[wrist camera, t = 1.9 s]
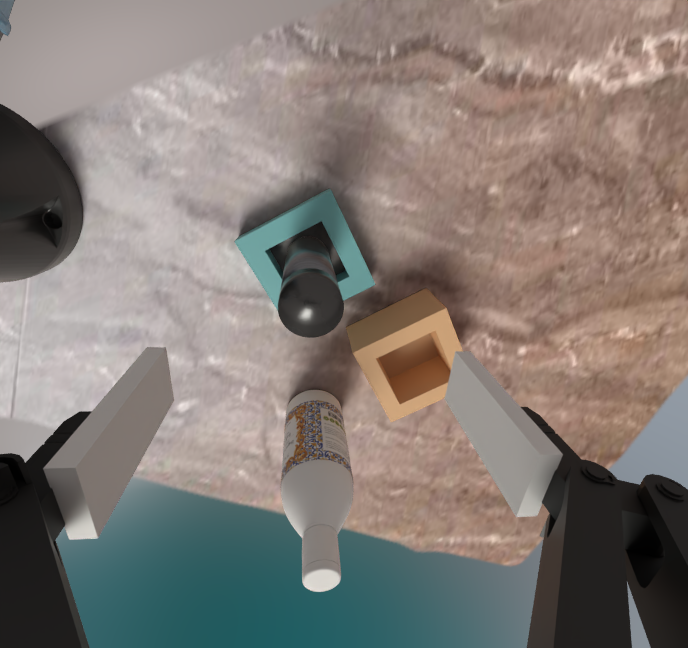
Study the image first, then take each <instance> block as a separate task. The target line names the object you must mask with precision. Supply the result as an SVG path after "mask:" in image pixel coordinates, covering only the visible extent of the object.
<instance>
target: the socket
mask: <svg viewBox="0 0 688 648" xmlns="http://www.w3.org/2000/svg"><path fill="white" fill-rule="evenodd" d="M346 330H347V334H348V338H349V341H350V345H351V349H352V352H353V355H354V356H355V358H356V360H357V362H358V364H359V365H360V367H361V369H362V371H363V373H364V374H365V376H366V378H367V380H368V382H369V383H370V385H371V387H372V389H373V391H374V392H375V394H376V396H377V398H378V400H379V401H380V403H381V405H382V407H383V409H384V410H385V412H386V414H387V416H388V418H389V419H390V421H391V422H393V421H395V420H397V419H400V418H402V417H404V416H406V415H408V414H411V413H413V412H415V411H417V410H419V409H422V408H424V407H426V406H428V405H430V404H433V403H435V402H437V401H439V400H441V399H444V398H445V394H446V390H447V386H448V381H449V377H450V372H451V368H452V364H453V359H454V355H455V351H463V350H462V348H461V345H460V342H459V340H458V337H457V335H456V332H455V329H454V327H453V324H452V321H451V319H450V316H449V314H448V311H447V308H446V307H445V306H444V305H443V304H442V303H441V302H440V301H439V300H438V299H437V298H436V297H435V296H434V295H433V294H432V293H431V292H430V291H429V290H428V289H427V288H425V289H423V290H421V291H419V292H417V293H415V294H413V295H411V296H409V297H407V298H405V299H403V300H401V301H399V302H396V303H394V304H392V305H390V306H388V307H386V308H384V309H382V310H380V311H378V312H376V313H374V314H372V315H370V316H368V317H366V318H364V319H362V320H360V321H358V322H356V323H354V324H352V325H349V326H347V327H346Z"/></svg>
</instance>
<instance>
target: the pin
mask: <svg viewBox="0 0 688 648" xmlns="http://www.w3.org/2000/svg"><path fill="white" fill-rule="evenodd" d="M343 310H344V303H343V299H342V295H341V292H340V289H339V285H338V282H337V279H336V275H335V272H334V269H333V265H332V262H331V259H330V255H329V252H328V249H327V247H326V246H325V244H324V243H323V242H322V241H320V240H319V239H317V238H315V237H310V236H305V237H300V238H298V239H296V240H295V241H294V242H292V244H291V245H290V246H289V248H288V251H287V255H286V261H285V266H284V272H283V278H282V284H281V289H280V295H279V301H278V313H279V317H280V319H281V321H282V323H283V324H284V325H285V327H286V328H287V329H289V330H290V331H291V332H293V333H294V334H297V335H299V336H302V337H319V336H322V335H325V334H327V333H329V332H330V331H332V330H333V329H334V328H335V327H336V326H337V325H338V323H339V322H340V320H341V318H342V315H343Z"/></svg>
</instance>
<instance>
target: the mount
mask: <svg viewBox="0 0 688 648" xmlns="http://www.w3.org/2000/svg"><path fill="white" fill-rule="evenodd" d="M321 221H322V223H323V225H324V227H325V229H326V231H327V233H328V235H329V237H330V239H331V241H332V243H333V245H334V247H335V249H336V251H337V253H338V255H339V257H340V259H341V261H342V263H343V265H344V267H345V269H346V270H345V271H343V272H341V273H339V274H337V275H336V279H337V282H338V285H339V289H340V292H341V295H342V299H343V301H344V300H346V299H348V298H350V297H352V296H354V295H356V294H358V293H360V292H362V291H364V290H366V289H368V288H370V287H372V286H374V285H376V284H375V282H374V280H373V278H372V276H371V274H370V272H369V270H368V267H367V265H366V263H365V261H364V259H363V257H362V255H361V253H360V250H359V248H358V246H357V244H356V242H355V240H354V238H353V236H352V233H351V231H350V229H349V227H348V225H347V223H346V221H345V219H344V216H343V214H342V212H341V210H340V208H339V206H338V204H337V201H336V199H335V197H334V195H333V193H332V191H331V190H330V189H327V190H325V191H323V192H322V193H320V194H318V195H316V196H314V197H312V198H310V199H308V200H307V201H305V202H303V203H301V204H299V205H297V206H295V207H293V208H292V209H290V210H288V211H286V212H284V213H282V214H280V215H278V216H276V217H275V218H273V219H271V220H269V221H267V222H265V223H263V224H261V225H260V226H258V227H256V228H254V229H252V230H250V231H248V232H246V233H245V234H243V235H241V236H239V237H238V238H237V239H236V240H235V241H234V242H235V243H236V245H237V246H238V248H239V250H240V251H241V253H242V254H243V256H244V258H245V259H246V261H247V262H248V264H249V265H250V267H251V269H252V270H253V272H254V273H255V275H256V277H257V278H258V280H259V281H260V283H261V285H262V286H263V288H264V289H265V291H266V292H267V294H268V296H269V297H270V299H271V300H272V302H273V304H274V305H275V307H276V308H277V310H278V301H279V295H280V289H281V284H282V278H283V271H282V269H281V268H280V266H279V264H278V263H277V261H276V259H275V258H274V256H273V254H272V252H271V251H270V249H269V248H271V247H273V246H275V245H277V244H279V243H281V242H283V241H285V240H287V239H288V238H290V237H292V236H294V235H296V234H298V233H300V232H302V231H304V230H306V229H308V228H309V227H311V226H313V225H315V224H317V223H319V222H321Z"/></svg>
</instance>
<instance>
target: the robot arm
mask: <svg viewBox="0 0 688 648" xmlns="http://www.w3.org/2000/svg"><path fill="white" fill-rule="evenodd" d="M14 1H15V0H0V40H1V38H2V35H3V34H5V35H7V36H8V35H9V33H10V30H11V25H10V23H9V20H8V19H9V16H10V13H11V10H12V7H13V4H14ZM81 226H82V205H81V199H80V195H79V191H78V188H77V185H76V183H75V180H74V178H73V176H72V174H71V172H70V170H69V168H68V166H67V164H66V163H65V161H64V160H63V158H62V157H61V155H60V154H59V153H58V151H57V150H56V149H55V147H54V146H53V145H52V144H51V143H50V142H49V140H48V139H47V138H46V137H45V136H44V135H43V134H42V133H41V132H40V131H39V130H38V129H36V128H35V127H34V126H33V125H32V124H31V123H29V122H28V121H27V120H25V119H24V118H22V117H21V116H20V115H18V114H17V113H15V112H14V111H12V110H11V109H9V108H7V107H5V106H3V105H1V104H0V282H11V281H17V280H22V279H26V278H29V277H32V276H35V275H37V274H40V273H42V272H44V271H47V270H49V269H51V268H53V267H55V266H57V265H58V264H59V263H61V262H62V261H63V260H64V259H65V258H66V257H67V256H68V255H69V254H70V253H71V251H72V250H73V249H74V247H75V245H76V243H77V241H78V238H79V235H80V232H81ZM173 401H174V397H173V391H172V384H171V377H170V371H169V364H168V358H167V351H166V348H156V347H147V348H146V349H145V350H144V352H143V353H142V354H141V355H140V356H139V357H138V359H137V360H136V361H135V362H134V363H133V364H132V366H131V367H130V368H129V369H128V370H127V371H126V373H125V374H124V375H123V376H122V377H121V378H120V380H119V381H118V382H117V383H116V384H115V385H114V387H113V388H112V389H111V390H110V391H109V392H108V394H107V395H106V396H105V397H104V398H103V399H102V401H101V402H100V403H99V404H98V405H97V406H96V408H95V409H94V410H93V411H92V412H78V413H77V414H75V415H74V416H72V417H70V418H69V419H67V420H66V421H64V422H63V423H62V424H61V425H60V426H59V427H58V429H57V430H56V431H55V432H54V433H53V435H51V436H50V437H49V438H48V439H47V440H46V441H45V444H44V445H42V446H41V447H40V448H39V449H38V450H37V451H36V452H35V453H34V454H33V455H32V456H31V458H30V459H29V460H28V461H27V462H26V463H25V462H24V460H23V458H22V457H21V456H20V455H16V454H12V453H10V454H0V648H89V645H88V642H87V638H86V635H85V632H84V629H83V625H82V622H81V619H80V616H79V613H78V610H77V607H76V603H75V600H74V597H73V594H72V590H71V587H70V584H69V581H68V578H67V574H66V571H65V568H64V565H63V562H62V558H61V555H60V552H59V549H58V546H57V543H56V541H55V540H56V538H57V537H58V535H59V533H60V532H61V530H62V529H63V527H65V529H66V532H67V535H68V537H69V539H70V540H73V539H91V538H92V539H93V538H98V537H99V535H100V534H101V532H102V530H103V528H104V526H105V525H106V523H107V521H108V519H109V517H110V515H111V514H112V512H113V510H114V508H115V506H116V505H117V503H118V501H119V499H120V497H121V495H122V494H123V492H124V490H125V488H126V486H127V485H128V483H129V481H130V479H131V477H132V476H133V474H134V472H135V470H136V468H137V466H138V465H139V463H140V461H141V459H142V457H143V456H144V454H145V452H146V450H147V448H148V446H149V445H150V443H151V441H152V439H153V437H154V436H155V434H156V432H157V430H158V428H159V426H160V425H161V423H162V421H163V419H164V417H165V416H166V414H167V412H168V410H169V408H170V407H171V405H172V403H173ZM445 401H446V402H447V404H448V405H449V407H450V409H451V410H452V412H453V414H454V415H455V417H456V419H457V420H458V422H459V424H460V425H461V427H462V429H463V430H464V432H465V433H466V435H467V437H468V438H469V440H470V442H471V443H472V445H473V447H474V448H475V450H476V452H477V453H478V455H479V457H480V458H481V460H482V461H483V463H484V465H485V466H486V468H487V470H488V471H489V473H490V475H491V476H492V478H493V480H494V481H495V483H496V485H497V486H498V488H499V489H500V491H501V493H502V494H503V496H504V498H505V499H506V501H507V503H508V504H509V506H510V508H511V509H512V511H513V513H514V514H515V516H516V517H525V516H537V515H538V512H539V510H540V508H541V505H542V503H543V504H544V506H545V507H546V508H547V510H548V511H549V513H550V514H549V516H548V518H547V520H546V523H545V525H544V527H543V529H542V532H541V534H540V536H541V537H544V540H543V546H542V553H541V559H540V566H539V572H538V579H537V585H536V592H535V599H534V605H533V611H532V617H531V624H530V631H529V638H528V644H527V648H632V644H631V631H630V617H629V604H628V591H627V582H628V585H629V588H630V590H631V593H632V596H633V599H634V601H635V604H636V607H637V610H638V613H639V616H640V618H641V621H642V624H643V627H644V629H645V632H646V635H647V638H648V641H649V644H650V646H651V648H688V490H687V489H686V488H685V487H683V486H682V485H681V484H679V483H677V482H675V481H674V480H671V479H669V478H666V477H663V476H660V475H654V474H651V475H646V476H645V478H644V479H643V481H642V482H641V484H640V485H638V484H634V483H629V482H625V481H620V480H617V479H616V477H615V476H614V475H613V474H612V473H611V472H610V471H608V470H607V469H606V468H604V467H602V466H600V465H598V464H597V463H594V462H591V461H588V460H581V459H580V457H579V456H578V455H577V454H576V453H575V452H574V451H573V450H572V449H571V448H570V447H569V446H568V445H567V444H566V443H565V442H564V441H563V440H562V439H561V437H560V436H559V435H558V434H555V431H554V430H553V429H552V428H551V427H550V426H548V424H547V423H546V422H545V421H544V420H543V418H542V417H541V416H540V415H538V414H537V413H535V412H534V411H532V410H531V409H529V408H528V407H520V406H519V405H518V404H517V403H516V402H515V400H514V399H513V398H512V397H511V396H510V395H509V394H508V393H507V392H506V390H505V389H504V388H503V387H502V386H501V385H500V384H499V383H498V382H497V380H496V379H495V378H494V377H493V376H492V375H491V374H490V373H489V372H488V370H487V369H486V368H485V367H484V366H483V365H482V364H481V363H480V362H479V361H478V359H477V358H476V357H475V356H474V355H473V354H472V353H471V352H467V351H455V355H454V359H453V364H452V368H451V372H450V377H449V381H448V386H447V390H446V394H445Z"/></svg>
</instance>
